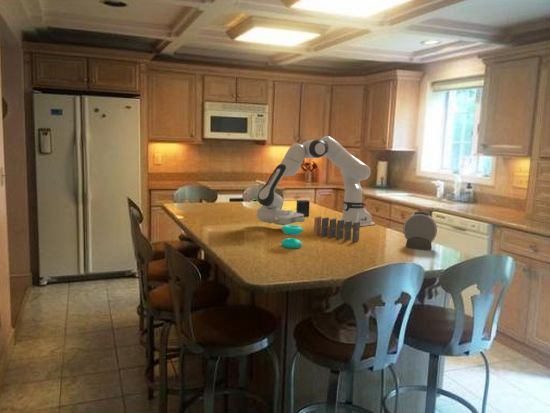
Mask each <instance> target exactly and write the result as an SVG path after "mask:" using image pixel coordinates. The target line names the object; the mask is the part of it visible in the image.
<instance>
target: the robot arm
mask: <svg viewBox="0 0 550 413" xmlns="http://www.w3.org/2000/svg"><path fill="white" fill-rule="evenodd" d="M323 156H325V157H326V158H327V159H328V160H329V161H331V163H332V164H333V165H334V166H336V167H337V168H339V169H340V170H339V172H340V174H341V176H342V180H343V186H344V200H343V203H342V209H343V210H342V215H341V219H343V220H344V225H345V221H349V220H350V221H352V226H353V223H354V222H357V221H358V222H360V227H366V226H374V225H376V223H375V221H372V220H373V219H372V218H373V217H372V214H371V213H370V212H369V211H368V210H366V208H365V207H367V206H368V203H367V202H363V187H362V186H361V182H360V181H365V180H367V179H368V178H370V176H371V168H370V166H369V165H367V164H366V163H364V162H363V161H362V160H360V159H359V158H357V157H356V156H354V155H353V154H352V153H350V152H349V151H348V150H347V149H345V147H343V145H341V144H340V143H339V142H338V141H337V140H336V139H334V138H332V137H331V136H329V135H324V136H323V137H322V138H320V139H309V140H308V139H307V140H304V141H302V142H301V143H298V142H297V143H293V144H291V145H290V147H289V148H288V150H287V151H286V153H285V155H284V156H283V159H282V161H281V162H280V163H279V164H278V165H277V166H276V167H275V169H274V170H273V171H272V173H271V175H270V176H269V178H268V179H267V181H266V183H265V184H264V186H263V187H262V188H261V189H260V190H259V192H258V193H257V198H256V199H257V202H258V203H259V205H261V206H260V207H258V208H257V210H256V218H257V219H258V220H259V221H260V222H262V223H265V224H274V225H278V226H285V225H292V224H294V223H305V216H304V214H301V213H296V211H292V210H289V209H288V210H287V209H282V208H283V205H284V198H283V197H282V196H281V195H280V194H278V193H277V192H275V191H276V189H277V186H278V185H279V183H280V182H281V180H282V179H283V178H284V177H293V176H295V175H296V174H297V173H298V172H299V170H300V169H301V166H302V164H303V162H304V160H305V159H319V158H322V157H323Z"/></svg>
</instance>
